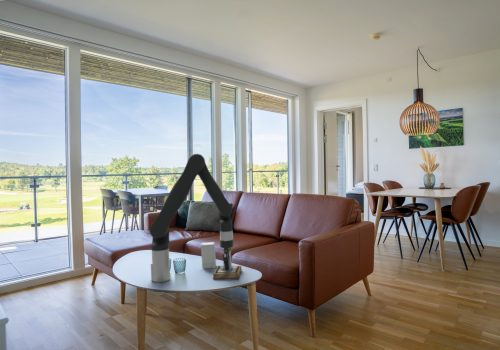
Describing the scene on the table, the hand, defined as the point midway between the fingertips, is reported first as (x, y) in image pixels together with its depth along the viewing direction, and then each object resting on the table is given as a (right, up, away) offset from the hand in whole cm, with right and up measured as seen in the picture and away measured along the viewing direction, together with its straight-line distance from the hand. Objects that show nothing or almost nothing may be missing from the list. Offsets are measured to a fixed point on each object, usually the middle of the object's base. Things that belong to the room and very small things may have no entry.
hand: (227, 268), depth 187 cm
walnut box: (0, -4, 0) cm, 4 cm away
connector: (0, -2, 0) cm, 2 cm away
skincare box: (-12, -4, +15) cm, 20 cm away
